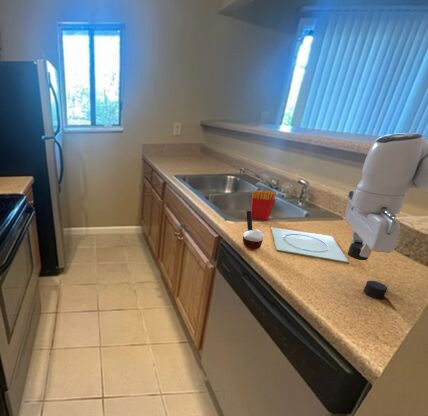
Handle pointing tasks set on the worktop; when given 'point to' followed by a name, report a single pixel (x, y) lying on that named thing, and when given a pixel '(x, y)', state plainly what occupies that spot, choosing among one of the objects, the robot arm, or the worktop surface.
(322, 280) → the worktop surface
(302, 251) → the pale blue square plate
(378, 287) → the dot
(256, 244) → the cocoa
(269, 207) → the french fries
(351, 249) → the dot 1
